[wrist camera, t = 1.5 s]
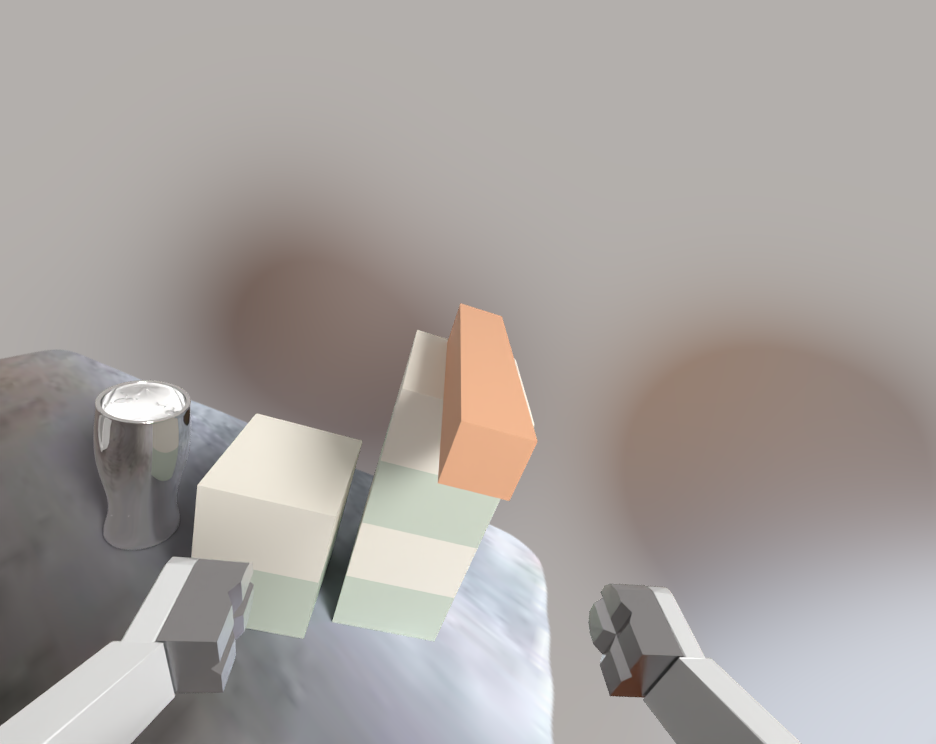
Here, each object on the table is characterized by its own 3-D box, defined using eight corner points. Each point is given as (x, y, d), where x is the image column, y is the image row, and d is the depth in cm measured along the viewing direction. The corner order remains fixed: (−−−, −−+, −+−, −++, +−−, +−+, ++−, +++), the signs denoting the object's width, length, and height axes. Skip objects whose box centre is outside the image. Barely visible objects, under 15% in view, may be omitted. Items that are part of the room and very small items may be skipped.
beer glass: (115, 498, 45) (113, 373, 39) (193, 501, 47) (202, 385, 41) (82, 554, 39) (73, 418, 33) (173, 555, 41) (180, 428, 35)
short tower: (303, 638, 39) (336, 516, 33) (186, 617, 37) (197, 484, 31) (333, 549, 48) (362, 440, 42) (239, 528, 46) (256, 413, 40)
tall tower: (434, 641, 42) (534, 425, 32) (332, 621, 41) (402, 388, 30) (439, 544, 53) (515, 359, 43) (358, 526, 52) (417, 329, 41)
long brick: (509, 501, 23) (537, 441, 22) (437, 483, 23) (461, 420, 21) (487, 354, 41) (501, 316, 40) (447, 342, 41) (460, 303, 39)
